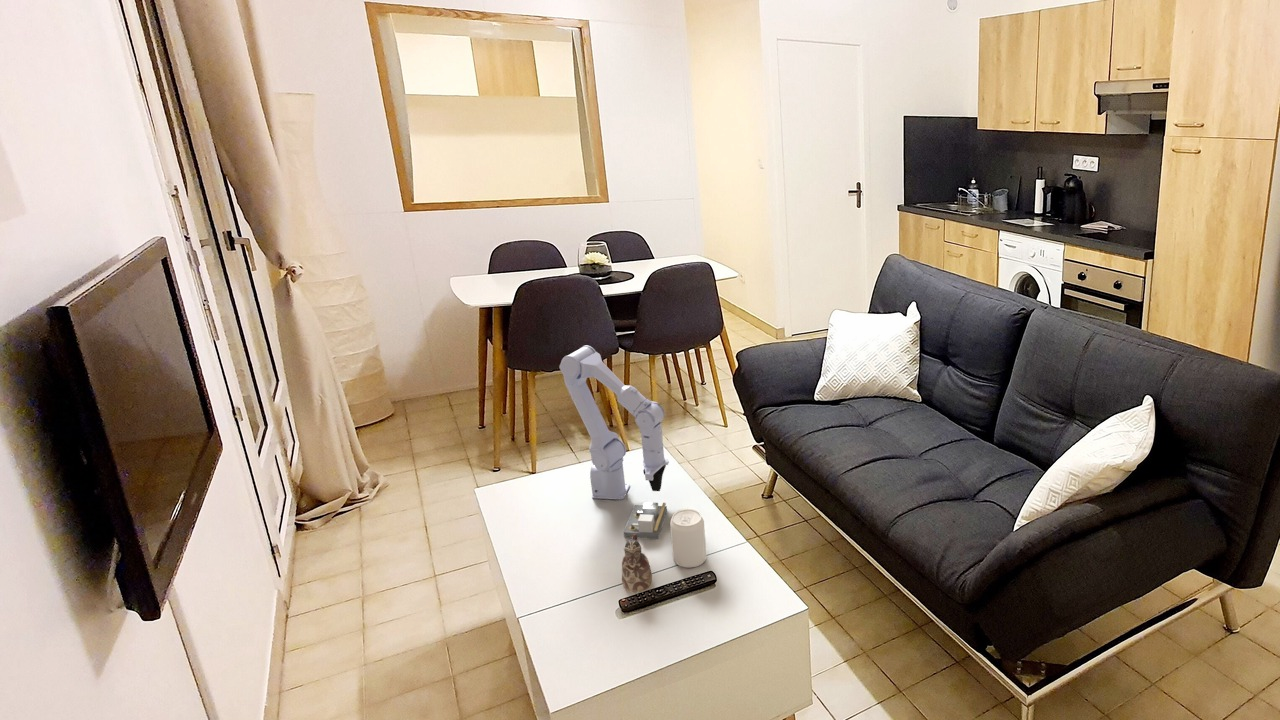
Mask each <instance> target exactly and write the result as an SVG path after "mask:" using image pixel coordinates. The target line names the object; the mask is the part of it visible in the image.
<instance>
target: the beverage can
mask: <svg viewBox="0 0 1280 720" xmlns="http://www.w3.org/2000/svg"><path fill="white" fill-rule="evenodd" d="M669 523H670V525H669V526H670V535H671V536H670V537H671V548H672V556H673V557H672V558H673V562H674V563H675V564H677V565H678V566H680V567H683V568H696V567H699V566H701V565H702V564H703V563H704V562H706V559H707V545H706V544H707V543H706V530H705V520H704V517H703V516H702V514H701V513H700V511H698V510H696V509H689V508H687V509H686V508H685V509H679V510H677V511H676V512H674V513H673V514H672V517H671V519H670V522H669Z"/></svg>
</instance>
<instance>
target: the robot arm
mask: <svg viewBox="0 0 1280 720" xmlns="http://www.w3.org/2000/svg"><path fill="white" fill-rule="evenodd" d="M601 356H602V355H601V354H600V353H599V352H598V351H596V349H595V348H594V347H592V346H591V345H587V344H586V345H582V346H581V347H579V349H577V350H575V351H573V352H571V353H570V354H568V355H565V356H564V357H563V358H562V359H561V360H560V361H561V362H560V364H559V367H558V368H559V370H560V372H561V373H562V376H563V381H564V384H565V387H566V389H567V391H568V394H569V396H570V398H571V400H572V402H573V403H574V405H575V407H576V410H577V411H578V414H579V416H580V418H581V420H582V422H583V424H584V426H585V428H586V430H587V432H588V434H589V436H590V439H591V440H590V444H589V447H588V451H589V453H590V459H591V463H592V465H591V468H590V472H589V474H590V475H589V479H590V485H591V486H590V488H591V493H592V496H591V498H592V499H603V500H605V499H606V500H624V499H625V497H626V494H627V492H628V491H629V488H630V483H626V481H625V472H624V464H623V463H624V457H625V456H626V454H627V446H626V444H625V443H624V442H623V441H622V440H621V439H620V437H619V435H618V433H617V432H614V431H611V430H609V428H608V426H607V424H606V422H605V419H604V417H603V415H602V414H601V411H600V409H599V407H598V405H597V402H596V401H595V399H594V397H593V395H592V392H591V390H590V388H589V386H588V384H587V379H588V378H589V379H590V378H594V379H596V381H598V382H600V383H602V385H604V387H607V389H608V390H610V391H611V392H612V393H614V394H615V395H616V398H617V399H616V400H617V402H618V403H619V404H620V405H621V406H622V407H624V409H626V411H628V412H629V413H630V414H631V415H632V416H634V421H635V425H637V427H638V428H639V432H640V434H641V435H640V437H641V447H642V448H641V449H642V457H643V460H642V466H643V476H644V477H645V478H644V479H645V481H648V482H649V485H650V488H651V490H652V491H653V492H660V491H661V489H662V483H663V477H664V476H663V475H664V472H665V469H666V467H667V466H668V465H669V463H670V462H669V461H670V460H669V459H667V458H665V453H664V452H665V451H664V442H663V427H662V421H663V420H664V418H665V416H666V415H665V410H664V407H662V405H661V404H660V403H659V402H657V401H652V400H651V399H648V398H646V397H645V396H644V395H643V394H642V393H641V392H640V391H639V389H637V388H636V387H634V386H633V385H629V384H628V385H625V384H624V382H622V380H621V379H620V378H619V377H618V376H617V375H615V373H614V372H613V371H612V370H611V369H610V368H609V367H608V366H607V365H606V364H605V363H604V362H603V360H602V357H601Z"/></svg>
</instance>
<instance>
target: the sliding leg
mask: <svg viewBox="0 0 1280 720" xmlns="http://www.w3.org/2000/svg"><path fill="white" fill-rule="evenodd" d="M643 505H644V506H643V511H637V512H636V515H639V514H646V515H654V518H655V519H657V517H658V514H659V507H658V506H659V502H647V501H646V502H644V503H643Z"/></svg>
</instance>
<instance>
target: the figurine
mask: <svg viewBox="0 0 1280 720" xmlns="http://www.w3.org/2000/svg"><path fill="white" fill-rule="evenodd" d="M623 551H624V556H623V558H622V562H621V573H622V574H621V583H622V585H623V587H624V588H625V590H626V591H627V592H628V593H634V594H638V593H642V592H645V591H647V590H649V589H650V587H651V586H652V583H653V573H652V568H651V565H650V562H649V560H648V559H649V558H648V557H647V556H646V555H645V554H644V553H642V545H641V543H640V542H639V540H638V538H637V535H636V534H633V538H632V539H629V540H627V542H626V543H625V545H624V548H623ZM641 591H642V592H641ZM637 592H638V593H637Z"/></svg>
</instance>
